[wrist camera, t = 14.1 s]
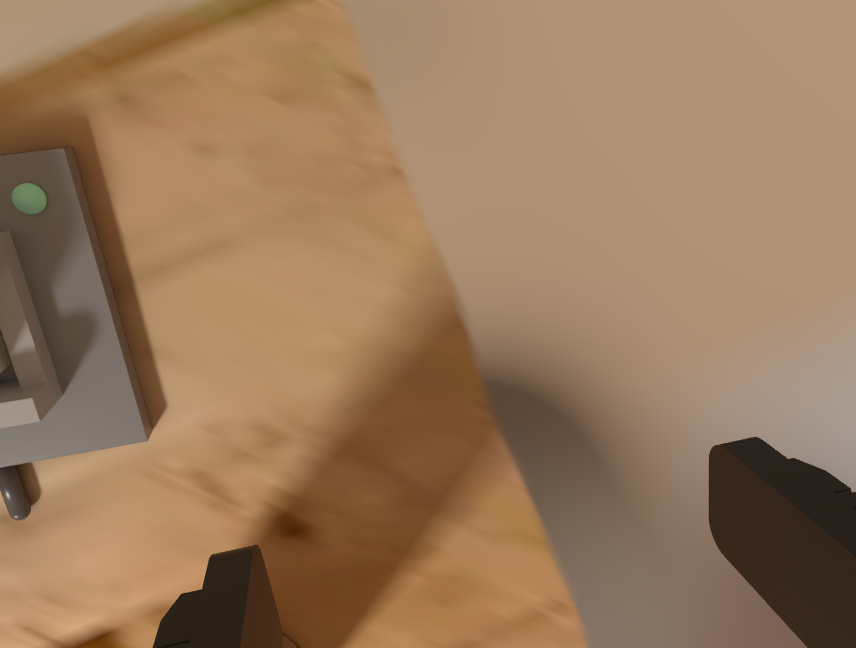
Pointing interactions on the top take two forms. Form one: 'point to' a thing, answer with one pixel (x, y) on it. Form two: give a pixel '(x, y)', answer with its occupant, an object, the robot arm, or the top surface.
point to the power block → (58, 326)
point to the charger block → (3, 356)
